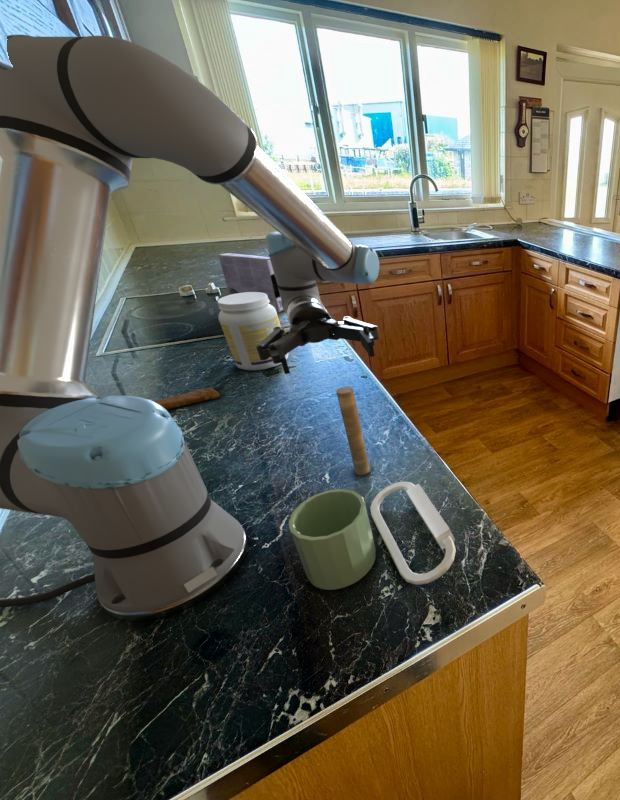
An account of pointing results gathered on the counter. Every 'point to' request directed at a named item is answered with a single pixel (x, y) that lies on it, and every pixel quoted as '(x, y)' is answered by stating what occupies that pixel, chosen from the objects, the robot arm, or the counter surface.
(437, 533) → the white oval ring
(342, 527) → the cup
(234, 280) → the cake pan box
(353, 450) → the stick
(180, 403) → the brown rounded bar
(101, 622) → the counter surface
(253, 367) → the supplement tub
